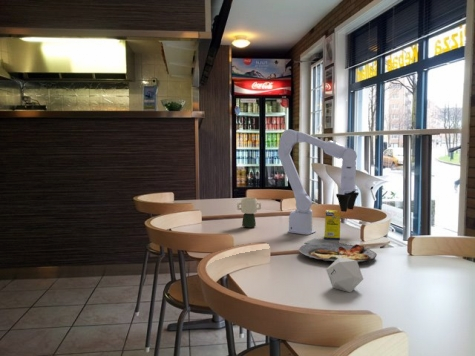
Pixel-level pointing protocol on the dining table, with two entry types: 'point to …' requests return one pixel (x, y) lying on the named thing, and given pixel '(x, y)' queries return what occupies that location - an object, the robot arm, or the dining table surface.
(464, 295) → the dining table surface
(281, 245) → the dining table surface
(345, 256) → the food plate
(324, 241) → the mat
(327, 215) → the supplement box
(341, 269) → the die
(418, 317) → the dining table surface
